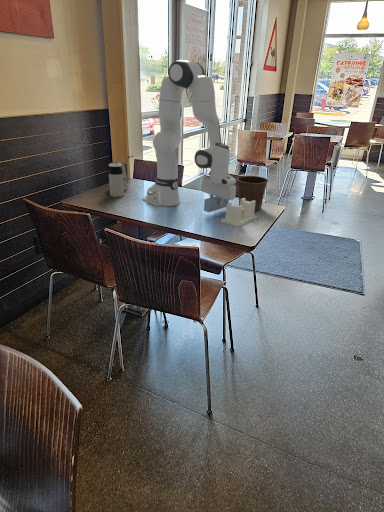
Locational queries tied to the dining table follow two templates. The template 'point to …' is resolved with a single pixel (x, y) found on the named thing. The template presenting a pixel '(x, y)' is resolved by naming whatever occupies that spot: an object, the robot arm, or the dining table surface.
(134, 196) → the dining table surface
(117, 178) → the travel mug
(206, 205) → the blue-grey block
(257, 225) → the dining table surface
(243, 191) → the plant pot
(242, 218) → the display stand
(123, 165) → the coffee box
